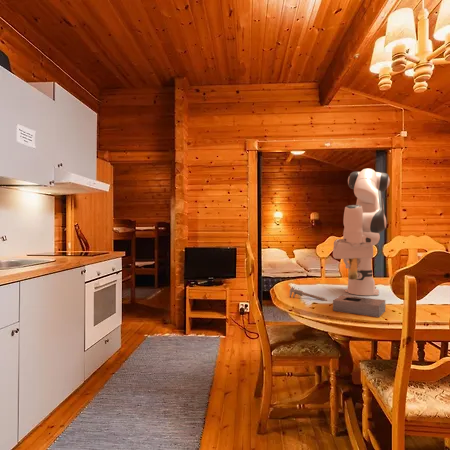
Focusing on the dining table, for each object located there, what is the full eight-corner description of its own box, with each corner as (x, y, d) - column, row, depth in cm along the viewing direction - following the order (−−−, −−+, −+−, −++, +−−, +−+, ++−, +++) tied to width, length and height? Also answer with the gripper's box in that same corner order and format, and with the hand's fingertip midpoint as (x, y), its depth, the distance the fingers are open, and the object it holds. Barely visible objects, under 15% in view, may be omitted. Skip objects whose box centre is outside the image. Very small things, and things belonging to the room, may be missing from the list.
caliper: (289, 297, 191) (289, 286, 192) (290, 297, 192) (290, 286, 192) (327, 301, 182) (327, 289, 183) (327, 300, 183) (327, 289, 184)
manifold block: (342, 305, 172) (342, 295, 172) (385, 311, 160) (385, 300, 160) (333, 310, 160) (333, 300, 160) (378, 317, 149) (379, 305, 149)
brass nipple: (350, 278, 165) (350, 257, 165) (358, 279, 162) (358, 257, 163) (346, 278, 162) (347, 257, 163) (355, 279, 160) (355, 258, 160)
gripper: (338, 239, 157) (337, 269, 157) (375, 239, 162) (375, 268, 162) (330, 238, 163) (329, 267, 163) (366, 238, 168) (366, 267, 168)
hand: (352, 268), depth 162 cm, fingers closed on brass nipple, 4 cm apart
